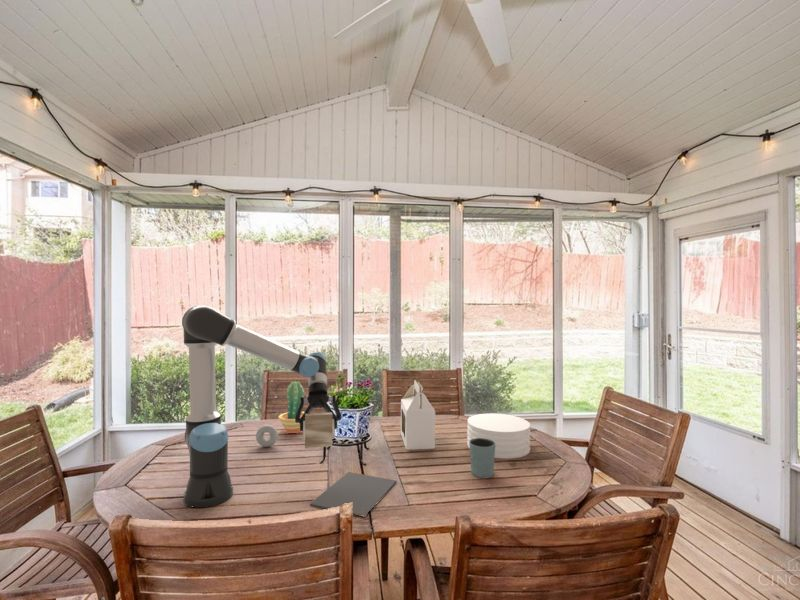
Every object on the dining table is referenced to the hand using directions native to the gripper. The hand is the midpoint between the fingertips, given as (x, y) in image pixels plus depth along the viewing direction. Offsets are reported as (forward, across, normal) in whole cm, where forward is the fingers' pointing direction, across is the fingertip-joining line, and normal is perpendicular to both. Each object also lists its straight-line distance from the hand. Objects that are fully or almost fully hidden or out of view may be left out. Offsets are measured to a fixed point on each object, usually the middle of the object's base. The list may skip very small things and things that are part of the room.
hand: (318, 437), depth 149 cm
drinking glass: (+16, -62, -6) cm, 65 cm away
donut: (-17, +22, -40) cm, 48 cm away
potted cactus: (-31, +10, -54) cm, 63 cm away
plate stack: (-1, -82, -23) cm, 85 cm away
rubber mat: (+20, -12, -2) cm, 24 cm away
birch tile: (+1, 0, -5) cm, 5 cm away
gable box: (-11, -47, -34) cm, 59 cm away
